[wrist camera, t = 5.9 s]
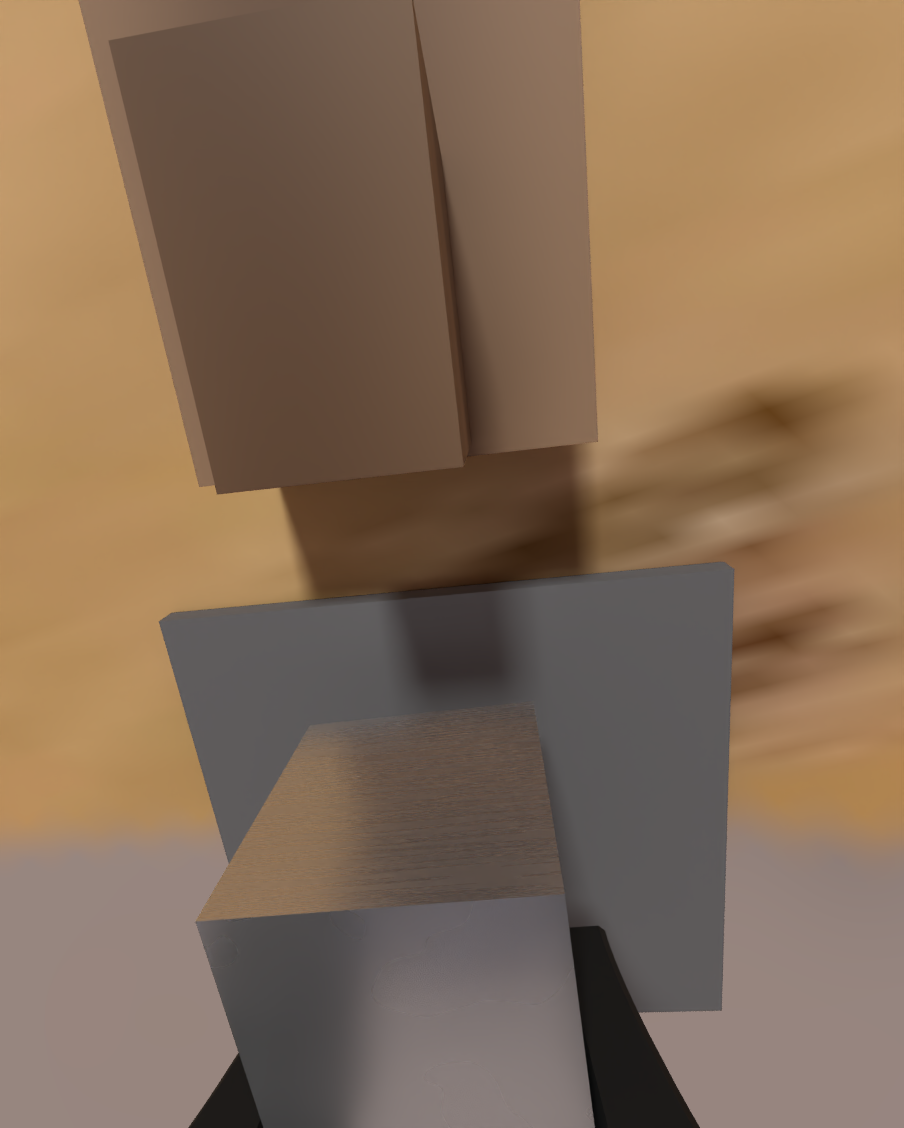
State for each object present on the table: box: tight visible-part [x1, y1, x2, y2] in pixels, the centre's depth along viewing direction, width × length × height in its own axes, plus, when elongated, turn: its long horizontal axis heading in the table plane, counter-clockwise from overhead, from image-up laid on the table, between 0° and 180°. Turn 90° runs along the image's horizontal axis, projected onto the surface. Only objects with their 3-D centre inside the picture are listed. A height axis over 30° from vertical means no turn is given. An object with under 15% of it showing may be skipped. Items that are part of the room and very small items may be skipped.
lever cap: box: [196, 701, 595, 1128], centre depth 9 cm, size 4×8×4 cm, turn 9°
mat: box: [159, 562, 734, 1012], centre depth 13 cm, size 12×12×1 cm
